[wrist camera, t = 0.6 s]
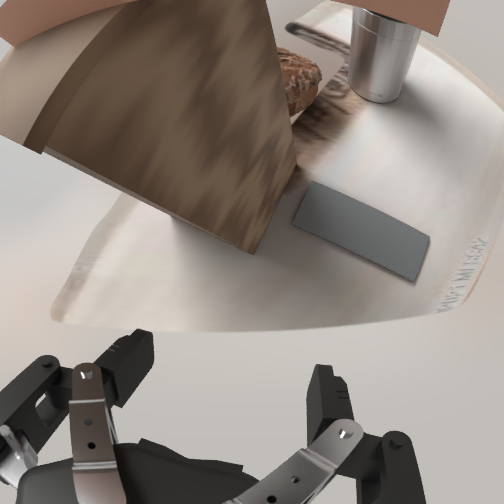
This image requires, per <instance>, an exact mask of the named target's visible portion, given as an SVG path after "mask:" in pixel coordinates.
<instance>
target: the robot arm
mask: <svg viewBox="0 0 504 504" xmlns="http://www.w3.org/2000/svg"><path fill="white" fill-rule="evenodd" d="M420 33H421V29H419V28H417V27H414V26H412V25H409V24H407V23H405V22H402V21H399V20H397V19H394V18H391V17H388V16H386V15H383V14H380V13H376V12H373V11H370V10H367V9H363V8H360V7H356V6H353V17H352V33H351V46H350V57H349V67H348V83H349V85H350V87H351V88H352V89H353V90H354V91H355V92H356V93H357V94H358V95H360V96H361V97H363V98H365V99H367V100H370V101H373V102H378V103H387V102H391V101H393V100H395V99H396V98H397V97H398V96H399V94H400V92H401V89H402V86H403V84H404V81H405V78H406V76H407V73H408V70H409V67H410V64H411V61H412V58H413V55H414V52H415V49H416V46H417V43H418V40H419V37H420ZM153 363H154V345H153V334H152V332H149V331H145V330H142V329H136V330H135V331H134V332H133V333H132V334H131V335H130V336H128V335H126V336H124V337H121V338H119V339H118V340H117V341H116V342H114V343H113V345H111V346H110V347H109V348H108V350H106V351H105V352H104V353H103V354H102V355H101V356H100V357H99V358H98V359H97V360H96V361H95V362H94V363H81V364H79V365H77V366H76V367H75V368H74V369H71V368H66V367H61V366H60V363H59V360H58V359H57V358H56V357H54V356H51V355H44V356H41V357H39V358H37V359H36V360H35V361H34V362H33V363H32V364H30V365H29V366H28V367H27V368H26V369H25V370H24V371H22V372H21V373H20V374H19V375H18V376H17V377H16V378H15V379H14V380H12V381H11V382H10V383H9V384H8V385H7V386H6V387H5V388H4V389H3V390H2V391H1V392H0V481H1V482H3V483H4V484H7V485H11V486H12V487H14V488H15V489H16V490H17V499H16V504H310V503H311V501H312V500H313V499H314V498H315V497H316V496H317V495H318V494H319V493H320V492H321V491H322V490H323V489H324V488H325V487H326V486H327V485H328V484H329V483H330V482H331V481H332V479H333V478H334V477H335V476H336V475H337V474H338V475H343V476H347V477H350V478H354V479H356V489H357V504H426V500H425V495H424V490H423V485H422V481H421V476H420V473H419V468H418V464H417V460H416V456H415V453H414V449H413V445H412V442H411V439H410V438H409V437H408V436H407V435H406V434H405V433H403V432H400V431H390V432H387V433H386V434H385V435H384V436H383V437H378V436H374V435H370V434H366V433H365V432H363V429H362V427H361V426H360V425H359V424H358V423H357V422H355V421H354V416H353V411H352V407H351V402H350V399H349V393H348V388H347V384H346V383H345V381H344V380H343V379H342V378H341V377H337V376H334V374H333V369H332V366H330V365H320V364H316V366H315V368H314V371H313V375H312V378H311V381H310V384H309V387H308V391H307V398H306V402H307V448H306V449H300V450H299V451H297V452H296V453H295V454H294V455H293V456H291V457H290V458H289V459H288V460H287V461H286V462H284V463H283V464H282V465H280V466H279V467H278V468H277V469H275V470H274V471H273V472H272V473H270V474H269V475H268V476H266V477H265V478H264V479H262V480H261V481H259V480H257V479H256V478H254V477H253V476H250V475H249V474H246V473H244V472H242V469H243V465H238V464H233V463H228V462H223V461H218V460H199V459H188V458H186V457H184V456H182V455H180V454H178V453H176V452H174V451H173V450H171V449H169V448H167V447H166V446H163V445H160V444H157V443H154V442H151V441H149V440H146V439H143V438H141V440H140V441H139V443H138V444H136V443H121V444H119V442H118V439H117V435H116V430H115V426H114V422H113V416H112V411H111V408H112V406H113V405H116V406H118V407H120V408H122V407H123V406H124V404H125V403H126V402H127V400H128V399H129V398H130V396H131V395H132V394H133V392H134V391H135V390H136V388H137V387H138V385H139V384H140V383H141V381H142V380H143V379H144V377H145V376H146V375H147V373H148V372H149V371H150V369H151V368H152V366H153ZM44 393H45V395H46V397H45V398H44V399H43V400H42V401H41V402H40V403H39V405H38V406H37V407H36V408H35V406H36V402H37V400H38V399H39V398H40V397H41V396H42V395H43V394H44ZM68 413H69V416H70V417H69V418H70V432H71V445H72V454H73V458H69V459H65V460H61V461H57V462H53V463H49V464H45V465H40V466H37V463H38V456H37V454H38V452H39V451H40V450H41V448H42V447H43V446H44V445H45V443H46V442H47V441H48V439H49V438H50V437H51V435H52V434H53V433H54V432H55V430H56V429H57V428H58V426H59V425H60V424H61V422H62V421H63V420H64V419H65V417H66V416H67V415H68Z"/></svg>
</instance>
